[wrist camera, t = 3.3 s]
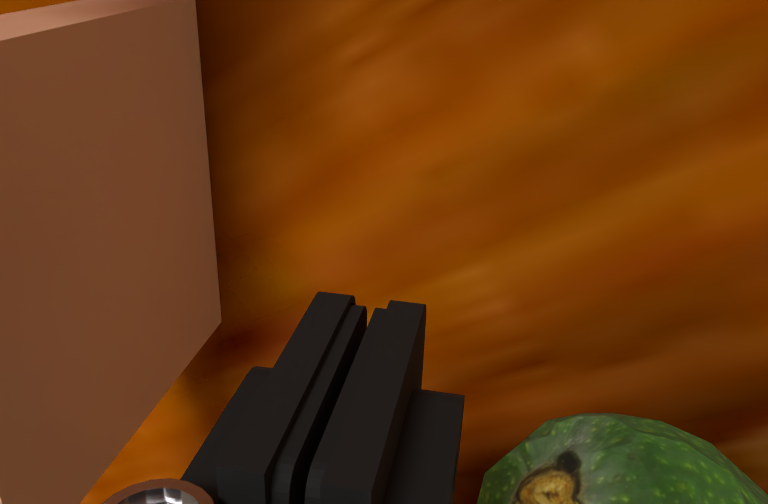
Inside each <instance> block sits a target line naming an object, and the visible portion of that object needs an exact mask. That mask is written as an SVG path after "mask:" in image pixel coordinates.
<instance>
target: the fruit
mask: <svg viewBox="0 0 768 504" xmlns="http://www.w3.org/2000/svg"><path fill="white" fill-rule="evenodd" d="M477 504H768V495H767V494H766V493H765V492H764V491H763V490H762V489H761V488H760V487H758V486H757V485H756V484H755V483H754V482H753V481H752V480H751V479H750V478H749V477H747V476H746V475H745V474H744V473H743V472H742V471H741V470H740V469H739V468H737V467H736V466H735V465H734V464H733V463H732V462H731V461H730V460H729V459H728V458H726V457H725V456H724V455H723V454H722V453H721V452H720V451H719V450H718V449H716V448H715V447H714V446H713V445H712V444H711V443H710V442H708V441H705V440H703V439H701V438H698V437H696V436H694V435H692V434H689V433H687V432H685V431H682V430H680V429H678V428H676V427H673V426H671V425H669V424H667V423H664V422H662V421H659V420H652V419H646V418H640V417H634V416H628V415H622V414H616V413H582V414H576V415H571V416H566V417H561V418H556V419H551V420H547V421H546V422H545V423H543V424H542V425H541V426H540V427H539V428H537V429H536V430H535V431H534V432H533V433H532V434H530V435H529V436H528V437H527V438H526V439H525V440H523V441H522V442H521V443H520V444H519V445H517V446H516V447H515V448H514V449H513V450H512V451H510V452H509V453H508V454H507V455H506V456H504V457H503V458H502V459H501V460H500V461H498V462H497V463H496V464H495V465H494V466H493V467H491V468H490V469H489V470H488V471H487V472H485V475H484V478H483V482H482V486H481V490H480V494H479V497H478V501H477Z"/></svg>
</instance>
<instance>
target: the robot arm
mask: <svg viewBox="0 0 768 504" xmlns="http://www.w3.org/2000/svg"><path fill="white" fill-rule="evenodd" d="M425 325H426V304H418V303H410V302H402V301H393V300H390V302H389V304H388V307H387V309H383V308H375V310H374V312H373V315H372V317H371V319H370V322H369V324H368V327H367V309H366V306H358V305H356V303H355V298H354V296H352V295H344V294H336V293H327V292H318V293H317V294H316V295H315V297H314V299H313V301H312V302H311V304H310V306H309V307H308V309H307V311H306V312H305V314H304V316H303V318H302V319H301V321H300V323H299V324H298V326H297V328H296V330H295V331H294V333H293V335H292V336H291V338H290V340H289V342H288V343H287V345H286V347H285V348H284V350H283V352H282V354H281V355H280V357H279V359H278V360H277V362H276V364H275V365H274V367H273V368H266V367H258V366H256V367H253V368H252V369H251V370H250V371H249V372H248V374H247V375H246V377H245V378H244V380H243V381H242V383H241V385H240V386H239V388H238V389H237V391H236V393H235V394H234V396H233V397H232V399H231V400H230V402H229V404H228V405H227V407H226V408H225V410H224V411H223V413H222V415H221V416H220V418H219V419H218V421H217V422H216V424H215V426H214V427H213V429H212V430H211V432H210V433H209V435H208V437H207V438H206V440H205V441H204V443H203V445H202V446H201V448H200V449H199V451H198V452H197V454H196V456H195V457H194V459H193V460H192V462H191V463H190V465H189V467H188V468H187V470H186V471H185V473H184V474H183V476H182V478H181V479H180V480H176V479H155V480H148V481H145V482H141V483H138V484H134V485H131V486H129V487H127V488H125V489H123V490H121V491H119V492H117V493H115V494H113V495H112V496H111V497H109V498H108V499H107V500H106V501H105V502H103V503H102V504H453V498H454V490H455V483H456V474H457V466H458V457H459V448H460V439H461V429H462V419H463V408H464V395H457V394H450V393H443V392H436V391H429V390H422V389H421V385H422V370H423V355H424V340H425Z"/></svg>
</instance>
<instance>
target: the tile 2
mask: <svg viewBox="0 0 768 504" xmlns="http://www.w3.org/2000/svg"><path fill="white" fill-rule="evenodd" d="M221 322H222V319H221V307H220V295H219V282H218V270H217V258H216V246H215V234H214V221H213V209H212V197H211V185H210V173H209V161H208V148H207V136H206V124H205V112H204V100H203V87H202V75H201V63H200V51H199V39H198V26H197V14H196V2H195V0H79V1H73V2H68V3H62V4H57V5H51V6H46V7H40V8H35V9H29V10H24V11H18V12H13V13H7V14H2V15H0V504H80V502H81V501H82V500H83V498H84V497H85V496H86V495H87V493H88V492H89V491H90V489H91V488H92V487H93V486H94V484H95V483H96V482H97V480H98V479H99V478H100V477H101V475H102V474H103V473H104V472H105V470H106V469H107V468H108V466H109V465H110V464H111V463H112V461H113V460H114V459H115V457H116V456H117V455H118V454H119V452H120V451H121V450H122V449H123V447H124V446H125V445H126V443H127V442H128V441H129V440H130V438H131V437H132V436H133V434H134V433H135V432H136V431H137V429H138V428H139V427H140V425H141V424H142V423H143V422H144V420H145V419H146V418H147V417H148V415H149V414H150V413H151V411H152V410H153V409H154V408H155V406H156V405H157V404H158V402H159V401H160V400H161V399H162V397H163V396H164V395H165V394H166V392H167V391H168V390H169V388H170V387H171V386H172V385H173V383H174V382H175V381H176V379H177V378H178V377H179V376H180V374H181V373H182V372H183V371H184V369H185V368H186V367H187V365H188V364H189V363H190V362H191V360H192V359H193V358H194V356H195V355H196V354H197V353H198V351H199V350H200V349H201V347H202V346H203V345H204V344H205V342H206V341H207V340H208V339H209V337H210V336H211V335H212V333H213V332H214V331H215V330H216V328H217V327H218V326H219V324H220V323H221Z"/></svg>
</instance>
